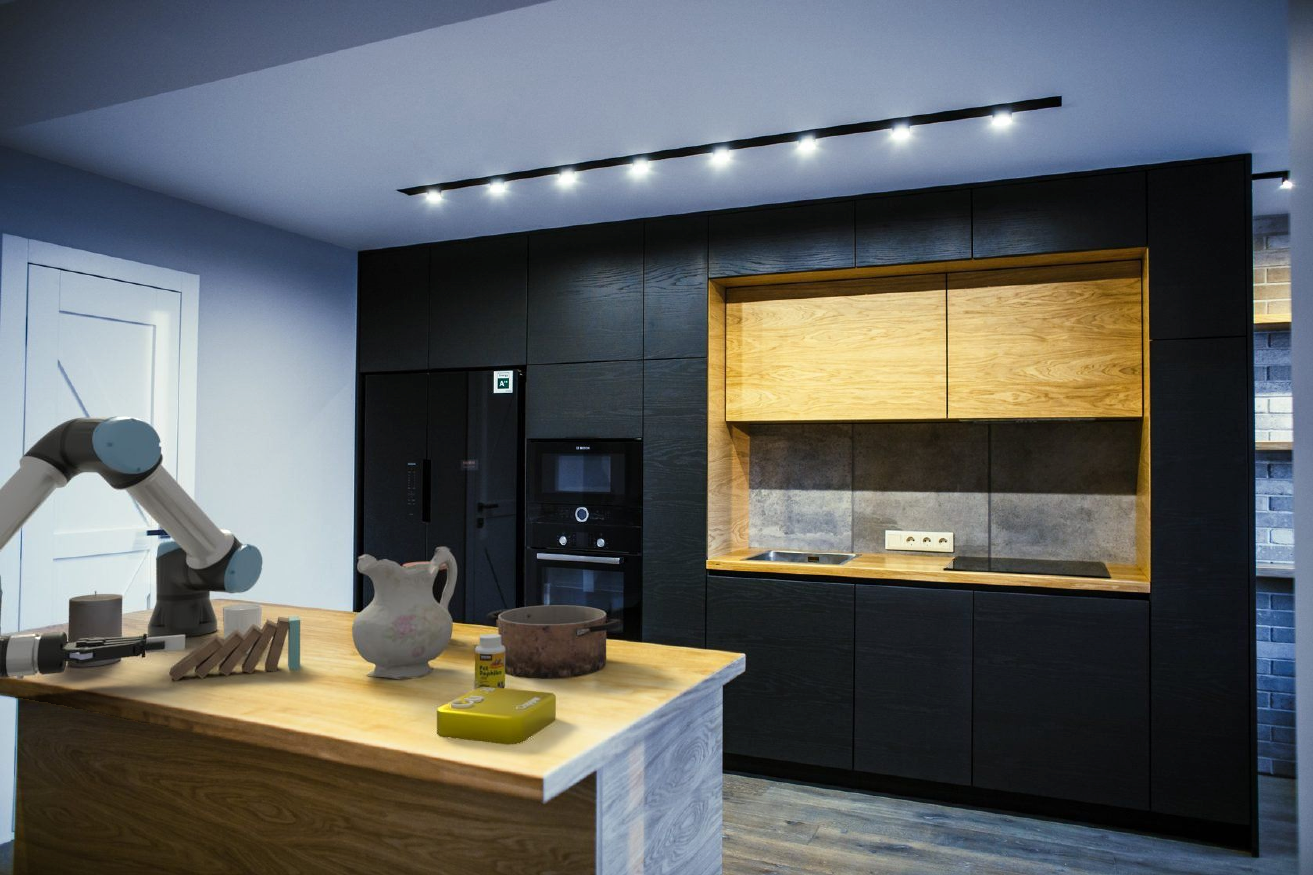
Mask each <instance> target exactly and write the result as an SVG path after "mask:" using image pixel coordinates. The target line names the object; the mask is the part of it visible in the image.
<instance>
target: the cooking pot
mask: <svg viewBox="0 0 1313 875" xmlns="http://www.w3.org/2000/svg"><path fill="white" fill-rule="evenodd" d="M486 618H487V620H488V621H491V622H492V623H496V624H495V625H496V627H497V631H498V632H497V634H499V635H501V645H503V646H504V647H505V675H506V674H507V675H509V676H514V677H517V678H526V679H537V680H540V679H541V680H545V679H546V680H548V679H549V680H551V679H552V680H554V679H569V678H575V677H576V678H577V677H582V676H587V675H591V674H593V673H597V672H598V671H601V670H602V669H603V668H605V666H606V664H607V631H608V630H612V629H616V628H618V627H620V626H621V623H622V621H621V619H617V618H614V619H607V613H606V611H604V610H603V609H602V610H601V609H599V608H597V607H596V608H595V607H592V606H591V607H589V606H581V605H562V604H561V605H560V604H559V605H558V604H555V605H554V604H553V605H534V606H532V605H531V606H525V607H519V608H518V607H517V608H512V609H510V608H509V609H508V608H507V609H505V608H504V609H500V610H499V609H498V610H494V611H491V612H488V613H487V615H486Z"/></svg>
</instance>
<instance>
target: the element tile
mask: <svg viewBox="0 0 1313 875" xmlns="http://www.w3.org/2000/svg"><path fill="white" fill-rule="evenodd" d="M556 700H557V696H556V694H555V693H553V692H545V691H537V690H536V691H535V690H525V689H524V690H523V689H514V688H495V687H480V688H477V689H475V688H474V689H473V690H471V691H470V692H467V693H465V694H462V695H461V696H459V697H457V698H455V699H453V700H452V701H451V700H450V701H449V702H447V703H445V704H443V705H441V706H439V707H438V708H437V709H436V735H437V734H438V735H439V736H438V735H437V736H438V737H441V736H442V738H448V737H451V738H450V739H456V738H458V739H457V740H464V741H465V740H466V741H467V740H468V741H475V742H481V741H482V743H483V742H484V743H490V742H491V744H498V743H499V744H500V745H518V744H517V743H519V744H521V742H522V743H523V741H524V742H525V741H527V740H529V739H530V738H532V737H533V736H535V735H536V734H537V733H539V732H541V731H542V730H544V729H545V728H546V727H548V726H549V725H551V724H553V723H554V722H555V721H556V718H557V715H556V714H557V713H556V712H557V711H556V709H557V708H556V707H557V706H556V705H557V703H556V702H557V701H556ZM531 736H532V737H531ZM529 737H530V738H529ZM528 738H529V739H528Z"/></svg>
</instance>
